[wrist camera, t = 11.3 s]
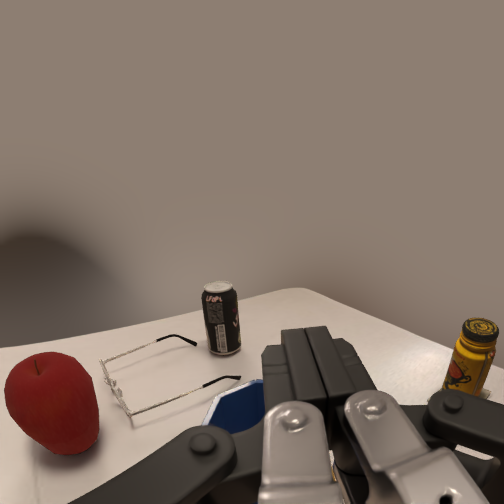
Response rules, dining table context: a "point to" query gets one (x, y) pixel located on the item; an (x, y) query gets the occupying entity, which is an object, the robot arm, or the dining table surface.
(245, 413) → the glazed bowl
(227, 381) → the dining table surface
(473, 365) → the condiment
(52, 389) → the apple
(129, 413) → the eyeglasses
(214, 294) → the beverage can
